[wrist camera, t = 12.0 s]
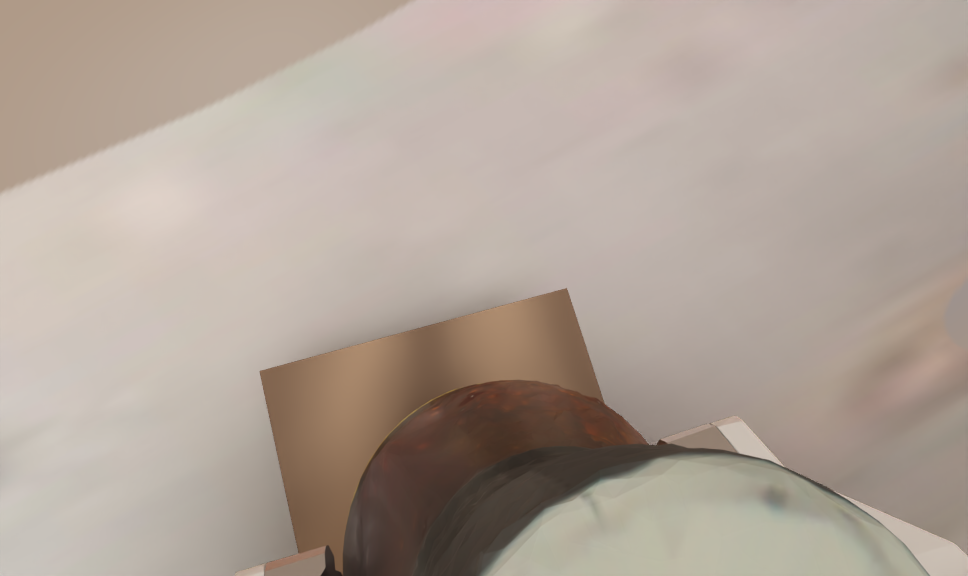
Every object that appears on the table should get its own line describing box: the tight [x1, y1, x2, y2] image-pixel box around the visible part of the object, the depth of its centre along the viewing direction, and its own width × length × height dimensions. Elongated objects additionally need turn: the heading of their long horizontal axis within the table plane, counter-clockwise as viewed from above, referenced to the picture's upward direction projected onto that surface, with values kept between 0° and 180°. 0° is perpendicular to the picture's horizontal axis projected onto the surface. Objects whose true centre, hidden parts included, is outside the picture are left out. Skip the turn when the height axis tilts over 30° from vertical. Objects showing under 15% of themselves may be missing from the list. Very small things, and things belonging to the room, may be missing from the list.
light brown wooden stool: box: [260, 288, 604, 575], centre depth 29 cm, size 13×13×9 cm
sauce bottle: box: [343, 380, 930, 576], centre depth 13 cm, size 7×6×20 cm
